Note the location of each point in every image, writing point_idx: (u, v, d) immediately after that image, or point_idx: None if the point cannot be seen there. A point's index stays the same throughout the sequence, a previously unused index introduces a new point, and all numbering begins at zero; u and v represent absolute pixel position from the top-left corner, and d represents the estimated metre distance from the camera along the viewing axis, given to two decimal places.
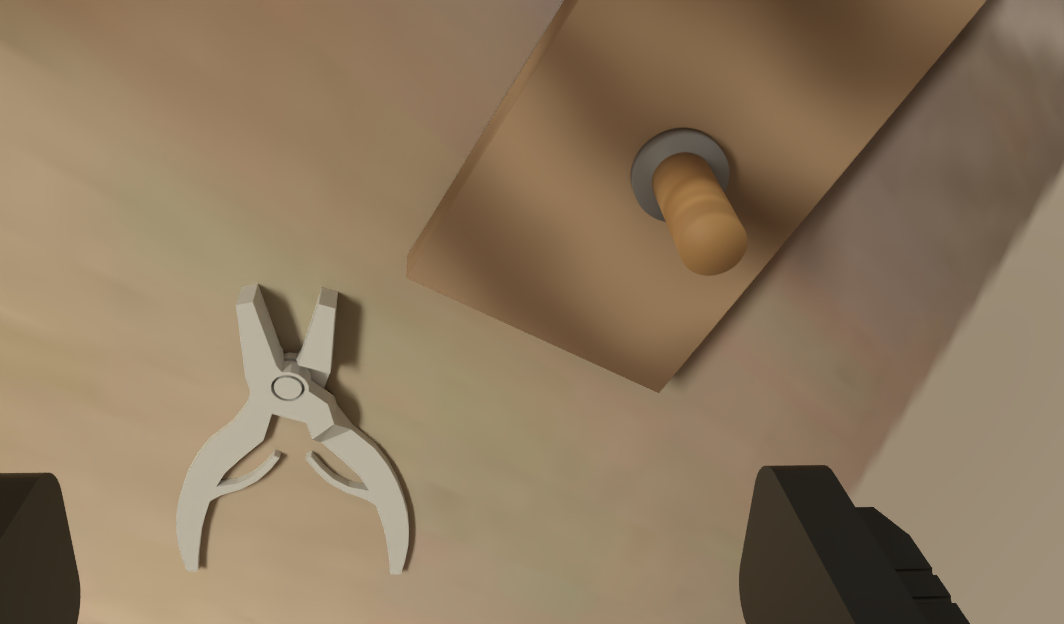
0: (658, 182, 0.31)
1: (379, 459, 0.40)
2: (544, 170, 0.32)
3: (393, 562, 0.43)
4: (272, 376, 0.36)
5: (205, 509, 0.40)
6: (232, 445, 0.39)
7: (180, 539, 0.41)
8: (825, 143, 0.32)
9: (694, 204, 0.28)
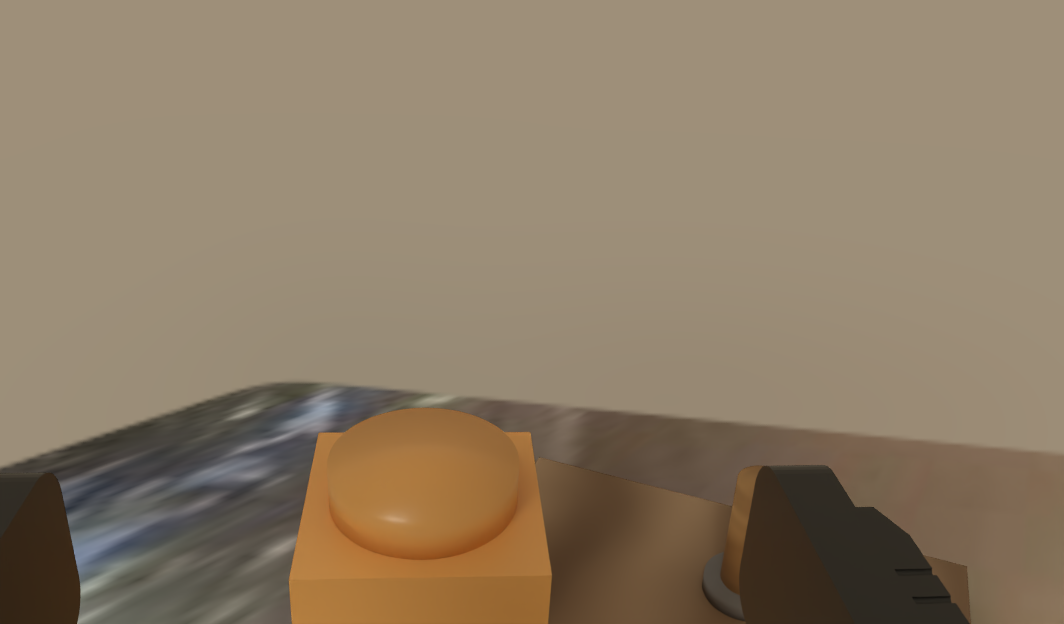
0: None
1: None
2: None
3: None
4: None
5: None
6: None
7: None
8: (679, 511, 0.40)
9: (743, 514, 0.34)
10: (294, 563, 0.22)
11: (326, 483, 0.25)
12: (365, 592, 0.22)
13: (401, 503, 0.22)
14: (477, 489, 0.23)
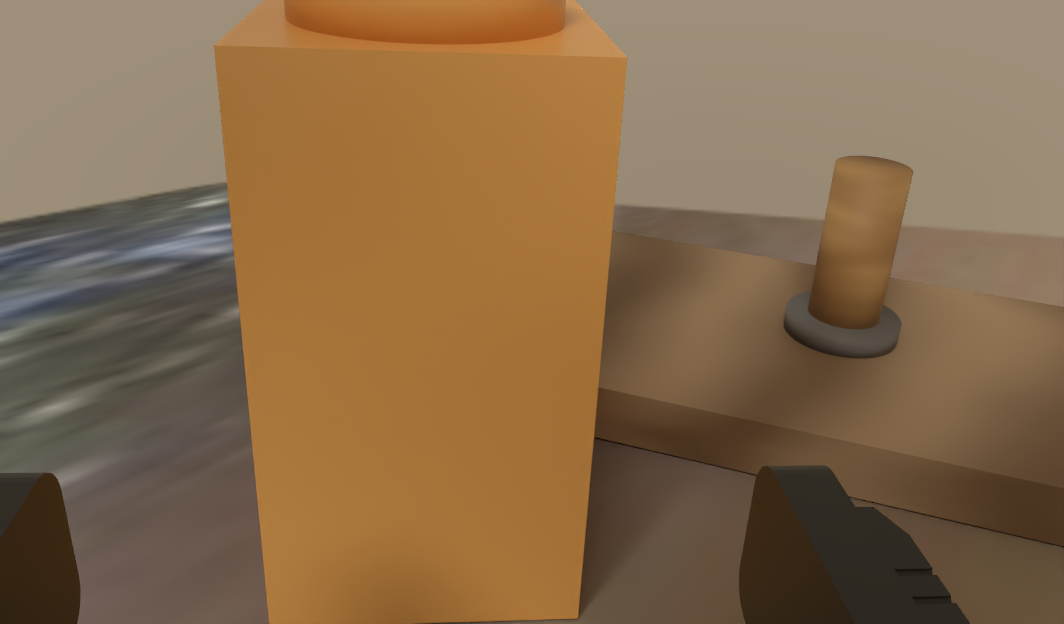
0: (854, 304, 0.26)
1: None
2: (918, 413, 0.24)
3: None
4: None
5: None
6: None
7: None
8: (744, 267, 0.32)
9: (844, 207, 0.26)
10: (225, 38, 0.14)
11: (283, 8, 0.17)
12: (336, 77, 0.14)
13: None
14: None
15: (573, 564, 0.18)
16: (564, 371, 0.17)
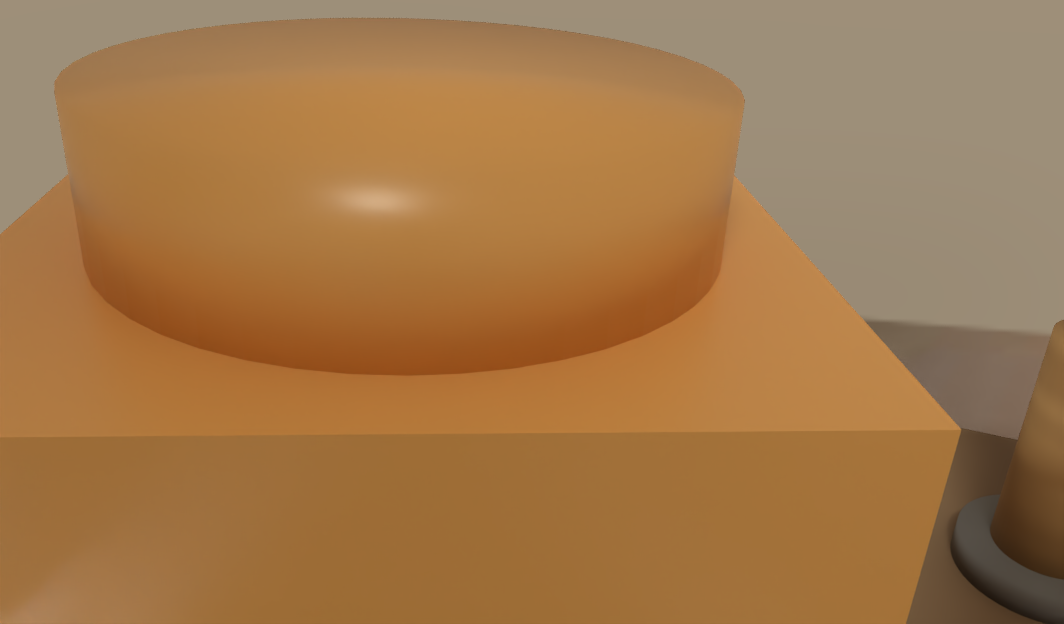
0: None
1: None
2: None
3: None
4: None
5: None
6: None
7: None
8: None
9: None
10: None
11: None
12: (148, 503, 0.05)
13: (315, 138, 0.05)
14: (616, 122, 0.06)
15: None
16: None
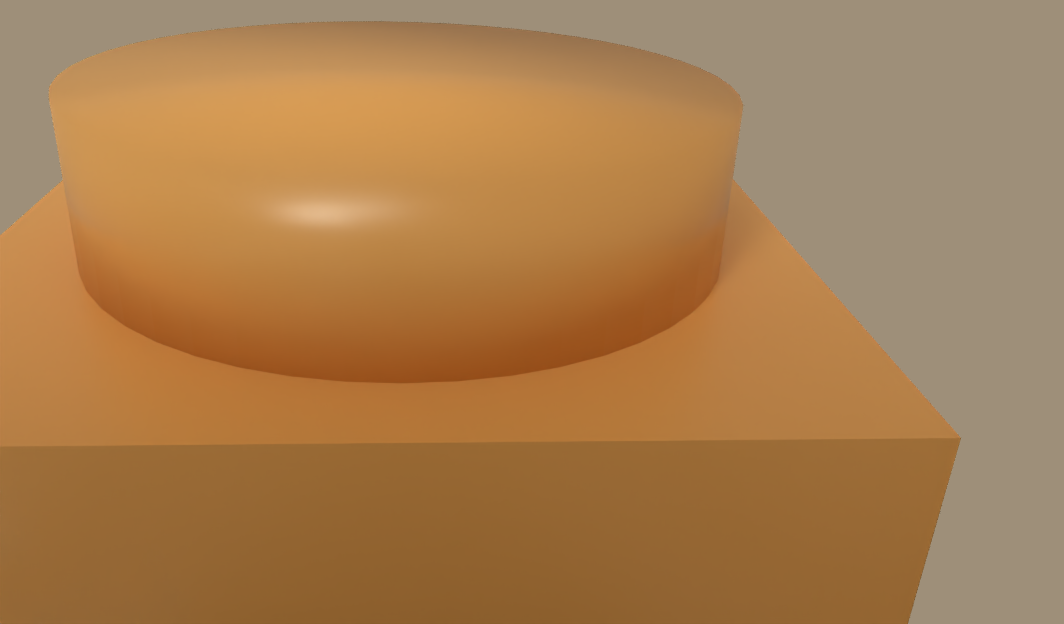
0: None
1: None
2: None
3: None
4: None
5: None
6: None
7: None
8: None
9: None
10: None
11: None
12: (142, 512, 0.05)
13: (310, 144, 0.05)
14: (613, 127, 0.06)
15: None
16: None
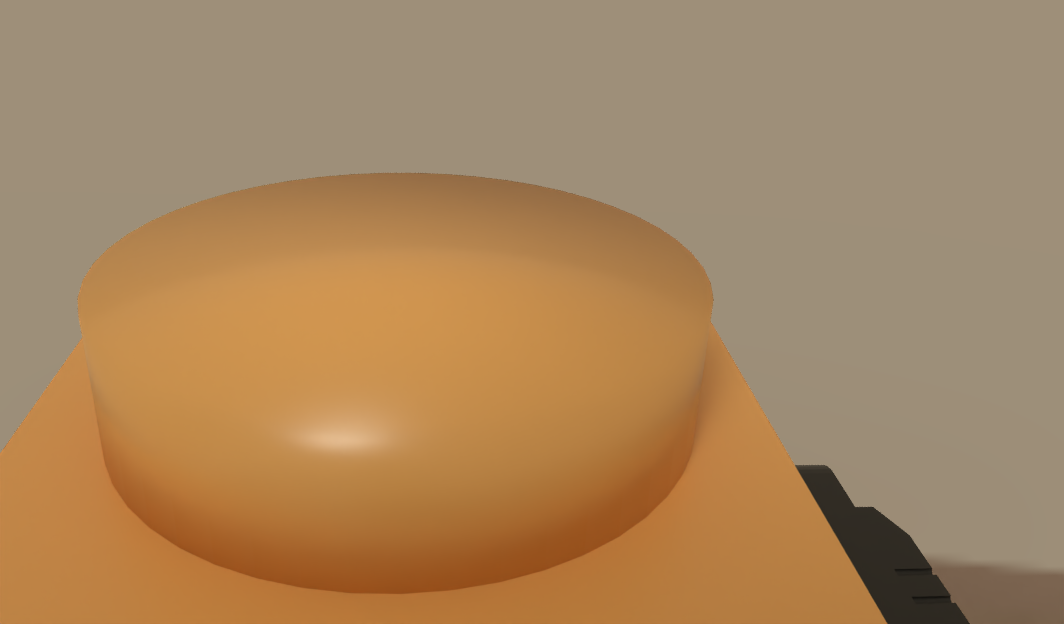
0: None
1: None
2: None
3: None
4: None
5: None
6: None
7: None
8: None
9: None
10: None
11: None
12: None
13: (319, 380, 0.06)
14: (594, 341, 0.07)
15: None
16: None
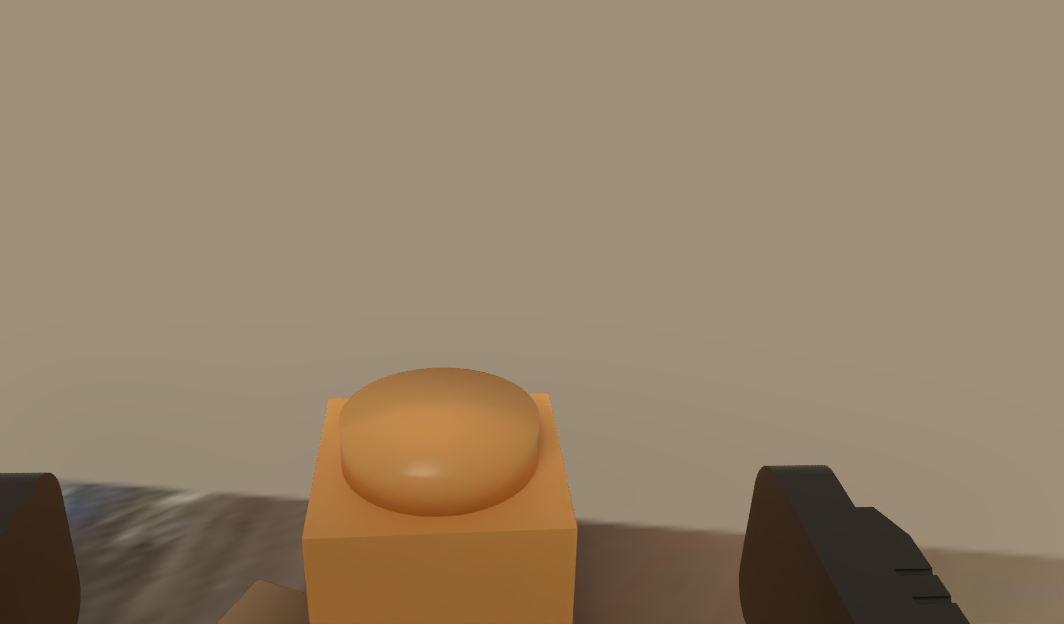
0: None
1: None
2: None
3: None
4: None
5: None
6: None
7: None
8: None
9: None
10: (307, 523, 0.21)
11: (338, 446, 0.24)
12: (382, 551, 0.21)
13: (417, 457, 0.21)
14: (496, 442, 0.22)
15: None
16: None
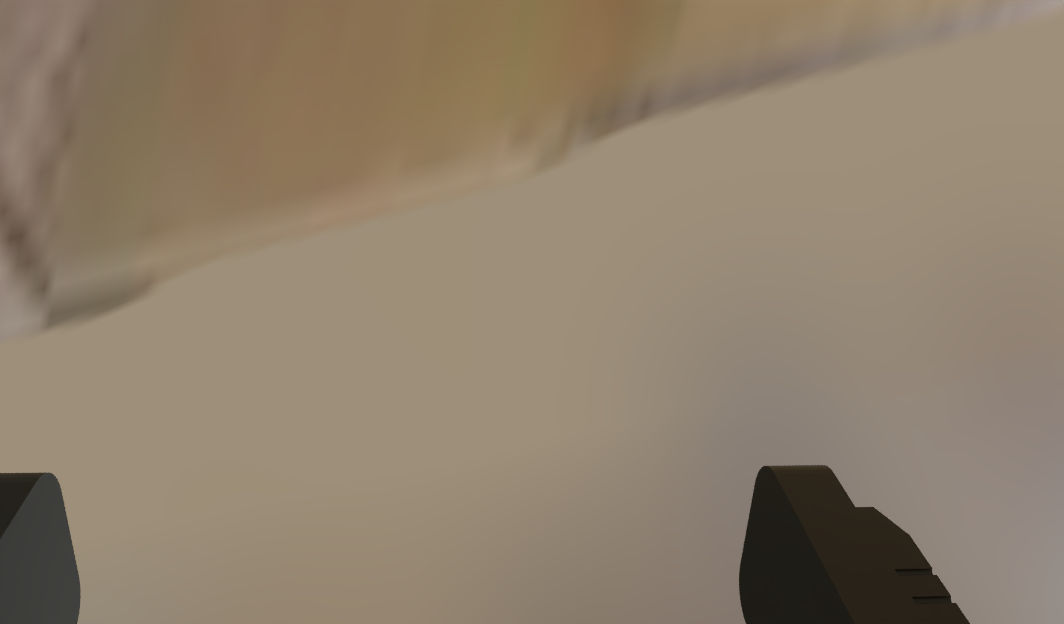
0: None
1: None
2: None
3: None
4: None
5: None
6: None
7: None
8: None
9: None
10: None
11: None
12: None
13: None
14: None
15: None
16: None
